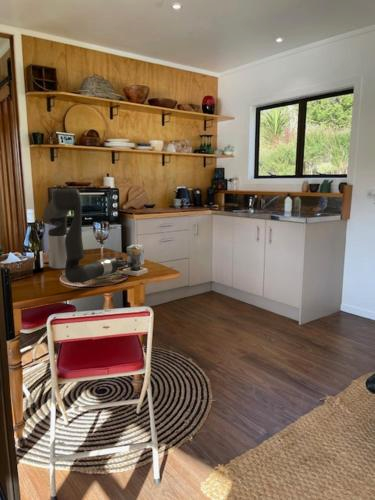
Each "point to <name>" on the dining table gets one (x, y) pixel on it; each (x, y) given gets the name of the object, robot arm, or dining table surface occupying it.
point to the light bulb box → (140, 253)
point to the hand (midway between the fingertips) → (128, 260)
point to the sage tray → (107, 275)
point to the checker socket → (134, 273)
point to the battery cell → (135, 255)
